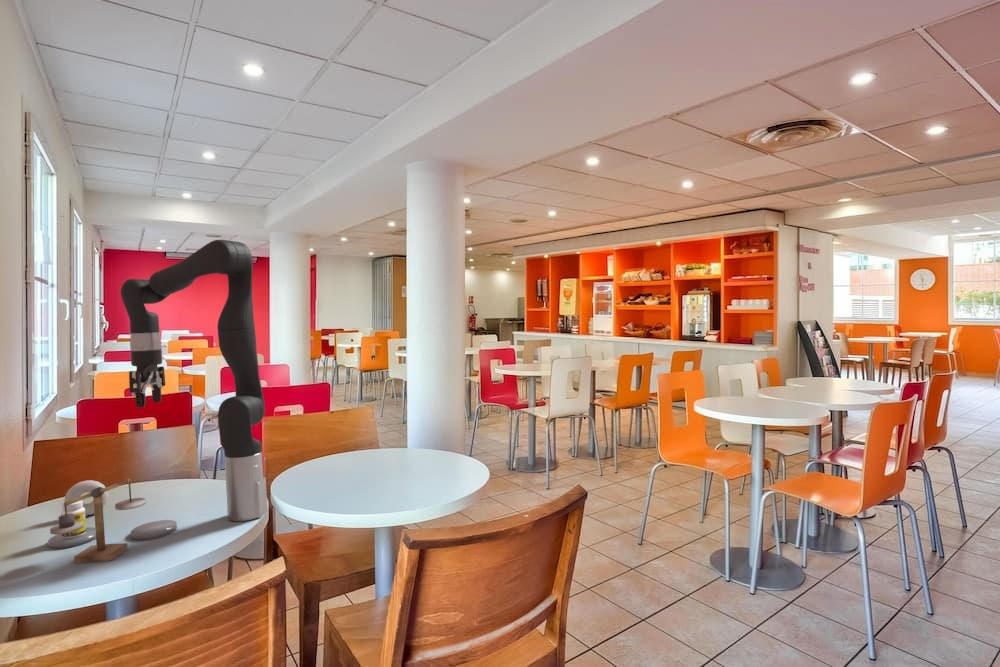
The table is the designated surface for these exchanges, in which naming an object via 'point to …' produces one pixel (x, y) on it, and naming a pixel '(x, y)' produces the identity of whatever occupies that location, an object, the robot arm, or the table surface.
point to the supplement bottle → (75, 519)
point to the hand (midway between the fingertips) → (149, 404)
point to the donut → (86, 488)
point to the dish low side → (72, 540)
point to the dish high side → (153, 530)
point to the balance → (97, 525)
